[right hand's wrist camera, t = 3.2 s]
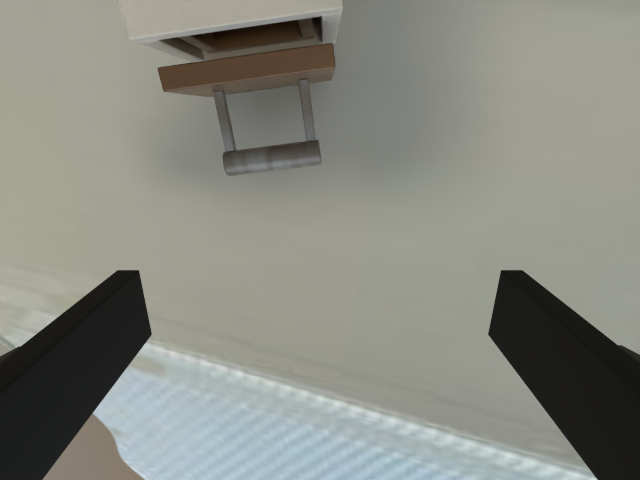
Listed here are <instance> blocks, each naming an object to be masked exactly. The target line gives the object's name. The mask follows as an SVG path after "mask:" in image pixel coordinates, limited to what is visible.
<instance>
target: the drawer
mask: <svg viewBox="0 0 640 480" xmlns="http://www.w3.org/2000/svg"><path fill="white" fill-rule="evenodd" d="M178 38H180V39H182V40H184V41H186V42H188V43H190V44H192V45H194V46H196V47H198V48H200V49H202V50H204V51H206V52H207V53H209V54H210V53H217V52H224V51H231V50H238V49H245V48H252V47H259V46H266V45H272V44H279V43H286V42H293V41H300V40H307V39H314V30H313V21H312V18H306V19H299V20H292V21H285V22H278V23H272V24H265V25H258V26H251V27H244V28H237V29H231V30H224V31H217V32H210V33H203V34H196V35H190V36H183V37H178ZM334 69H335V57H334V47H333V43H327V44H320V45H313V46H306V47H299V48H292V49H284V50H277V51H270V52H263V53H256V54H249V55H242V56H235V57H228V58H221V59H214V60H207V61H200V62H193V63H186V64H179V65H172V66H165V67H159V68H158V72H159V76H160V80H161V84H162V88H163V91H164V92H171V93H179V94H187V95H196V96H204V97H212V96H214V99H215V103H216V108H217V113H218V117H219V122H220V127H221V131H222V136H223V141H224V145H225V150H226V152H224V153H223V165H224V169H225V171H226V173H227V175H228V176H233V175H241V174H249V173H257V172H265V171H273V170H281V169H289V168H297V167H305V166H313V165H321V154H320V146H319V140H315V139H316V138H315V130H314V122H313V114H312V106H311V98H310V90H309V83H314V82H321V81H328V80H331V79H332V76H333V73H334ZM292 85H299V88H300V96H301V103H302V111H303V118H304V126H305V133H306V141H305V142H297V143H289V144H282V145H274V146H266V147H258V148H251V149H243V150H236V146H235V141H234V136H233V131H232V126H231V121H230V117H229V112H228V107H227V102H226V97H225V95H226V94H233V93H241V92H248V91H255V90H263V89H270V88H277V87H284V86H292Z"/></svg>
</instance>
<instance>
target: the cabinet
mask: <svg viewBox="0 0 640 480" xmlns="http://www.w3.org/2000/svg"><path fill="white" fill-rule="evenodd" d="M118 3H119V6H120V10H121V13H122V17H123V21H124V24H125V28H126V31H127V35H128V38H129V39H130V40H133V41H135V42H138V43H141V44H143V45H146V46H149V47H151V48H154V49H157V50H160V51H162V52H165V53H168V54H170V55H173V56H176V57H178V58H181V59H184V60H186V61H189V62H192V63H193V62H200V61H207V60H214V59H221V58H228V57H235V56H242V55H249V54H256V53H263V52H270V51H277V50H284V49H292V48H299V47H306V46H313V45H320V44H327V43H333V45H334V44H336V41H337V36H338V31H339V26H340V21H341V16H342V11H343V0H118ZM306 18H312V21H313V30H314V39H307V40H300V41H293V42H286V43H279V44H272V45H266V46H259V47H252V48H245V49H238V50H231V51H224V52H217V53H210V54H209V53H207V52H206V51H204V50H202V49H200V48H198V47H196V46H194V45H192V44H190V43H188V42H186V41H184V40H182V39H180V38H178V37H183V36H190V35H196V34H203V33H210V32H217V31H224V30H231V29H237V28H244V27H251V26H258V25H265V24H272V23H278V22H285V21H292V20H299V19H306Z"/></svg>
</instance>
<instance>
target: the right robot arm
mask: <svg viewBox="0 0 640 480" xmlns="http://www.w3.org/2000/svg"><path fill="white" fill-rule="evenodd" d="M151 335H152V333H151V328H150V323H149V318H148V314H147V309H146V304H145V299H144V294H143V289H142V284H141V279H140V274H139V270H118V271H116V272H115V273H114V274H112V275H111V276H110V277H109V278H107V279H106V280H105V281H104V282H102V283H101V284H100V285H98V286H97V287H96V288H95V289H93V290H92V291H91V292H90V293H88V294H87V295H86V296H84V297H83V298H82V299H81V300H79V301H78V302H77V303H76V304H74V305H73V306H72V307H70V308H69V309H68V310H67V311H65V312H64V313H63V314H62V315H60V316H59V317H58V318H56V319H55V320H54V321H53V322H51V323H50V324H49V325H48V326H46V327H45V328H44V329H43V330H41V331H40V332H39V333H37V334H36V335H35V336H34V337H32V338H31V339H30V340H29V341H27V342H26V343H25V344H23V345H22V346H21V347H17V348H15V349H13V350H12V351H10V352H8V353H6V354H4V355H2V356H0V480H42V479H43V478H44V477H45V475H46V474H47V473H48V471H49V470H50V469H51V467H52V466H53V465H54V463H55V462H56V461H57V459H58V458H59V457H60V455H61V454H62V453H63V451H64V450H65V449H66V448H67V446H68V445H69V444H70V442H71V441H72V440H73V438H74V437H75V436H76V434H77V433H78V432H79V430H80V429H81V428H82V426H83V425H84V424H85V422H86V421H87V420H88V418H89V417H90V416H91V414H92V413H93V412H94V410H95V409H96V408H97V406H98V405H99V404H100V402H101V401H102V400H103V398H104V397H105V396H106V394H107V393H108V392H109V390H110V389H111V388H112V387H113V385H114V384H115V383H116V381H117V380H118V379H119V377H120V376H121V375H122V373H123V372H124V371H125V369H126V368H127V367H128V365H129V364H130V363H131V361H132V360H133V359H134V357H135V356H136V355H137V353H138V352H139V351H140V349H141V348H142V347H143V345H144V344H145V343H146V341H147V340H148V339H149V337H150V336H151ZM488 335H489V336H490V337H491V339H492V340H493V341H494V343H495V344H496V345H497V347H498V348H499V349H500V351H501V352H502V353H503V355H504V356H505V357H506V359H507V360H508V361H509V363H510V364H511V365H512V367H513V368H514V369H515V371H516V372H517V373H518V375H519V376H520V377H521V379H522V380H523V381H524V383H525V384H526V385H527V387H528V388H529V389H530V390H531V392H532V393H533V394H534V396H535V397H536V398H537V400H538V401H539V402H540V404H541V405H542V406H543V408H544V409H545V410H546V412H547V413H548V414H549V416H550V417H551V418H552V420H553V421H554V422H555V424H556V425H557V426H558V428H559V429H560V430H561V432H562V433H563V434H564V436H565V437H566V438H567V440H568V441H569V442H570V444H571V445H572V446H573V448H574V449H575V450H576V451H577V453H578V454H579V455H580V457H581V458H582V459H583V461H584V462H585V463H586V465H587V466H588V467H589V469H590V470H591V471H592V473H593V474H594V475H595V477H596V478H597V479H598V480H640V355H639V354H637V353H635V352H633V351H631V350H629V349H627V348H626V347H624V346H622V345H617V344H615V343H614V342H613V341H611V340H610V339H609V338H608V337H606V336H605V335H604V334H603V333H601V332H600V331H599V330H597V329H596V328H595V327H594V326H592V325H591V324H590V323H589V322H587V321H586V320H585V319H584V318H582V317H581V316H580V315H578V314H577V313H576V312H575V311H573V310H572V309H571V308H570V307H568V306H567V305H566V304H564V303H563V302H562V301H561V300H559V299H558V298H557V297H556V296H554V295H553V294H552V293H550V292H549V291H548V290H547V289H545V288H544V287H543V286H542V285H540V284H539V283H538V282H536V281H535V280H534V279H533V278H531V277H530V276H529V275H528V274H526V273H525V272H524V271H522V270H501V274H500V279H499V284H498V289H497V294H496V299H495V304H494V309H493V314H492V318H491V323H490V328H489V333H488Z"/></svg>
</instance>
